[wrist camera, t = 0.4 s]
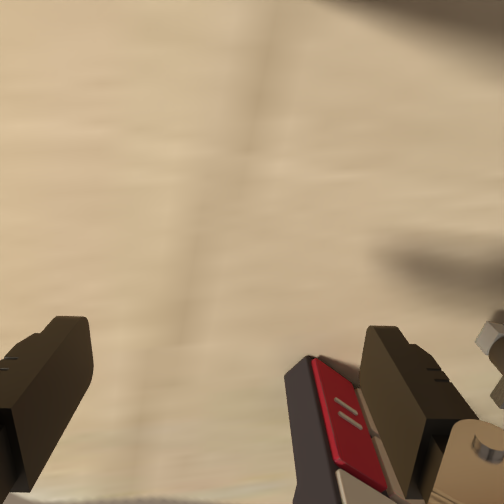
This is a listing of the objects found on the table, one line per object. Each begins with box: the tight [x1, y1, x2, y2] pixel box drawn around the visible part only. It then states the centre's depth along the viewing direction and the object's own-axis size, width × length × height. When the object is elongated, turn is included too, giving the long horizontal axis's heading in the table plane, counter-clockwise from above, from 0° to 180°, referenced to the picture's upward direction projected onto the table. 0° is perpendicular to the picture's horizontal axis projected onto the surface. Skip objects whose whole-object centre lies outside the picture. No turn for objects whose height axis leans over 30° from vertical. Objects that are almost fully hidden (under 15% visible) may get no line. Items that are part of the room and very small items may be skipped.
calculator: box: [284, 356, 425, 504], centre depth 29 cm, size 11×4×15 cm, turn 50°
